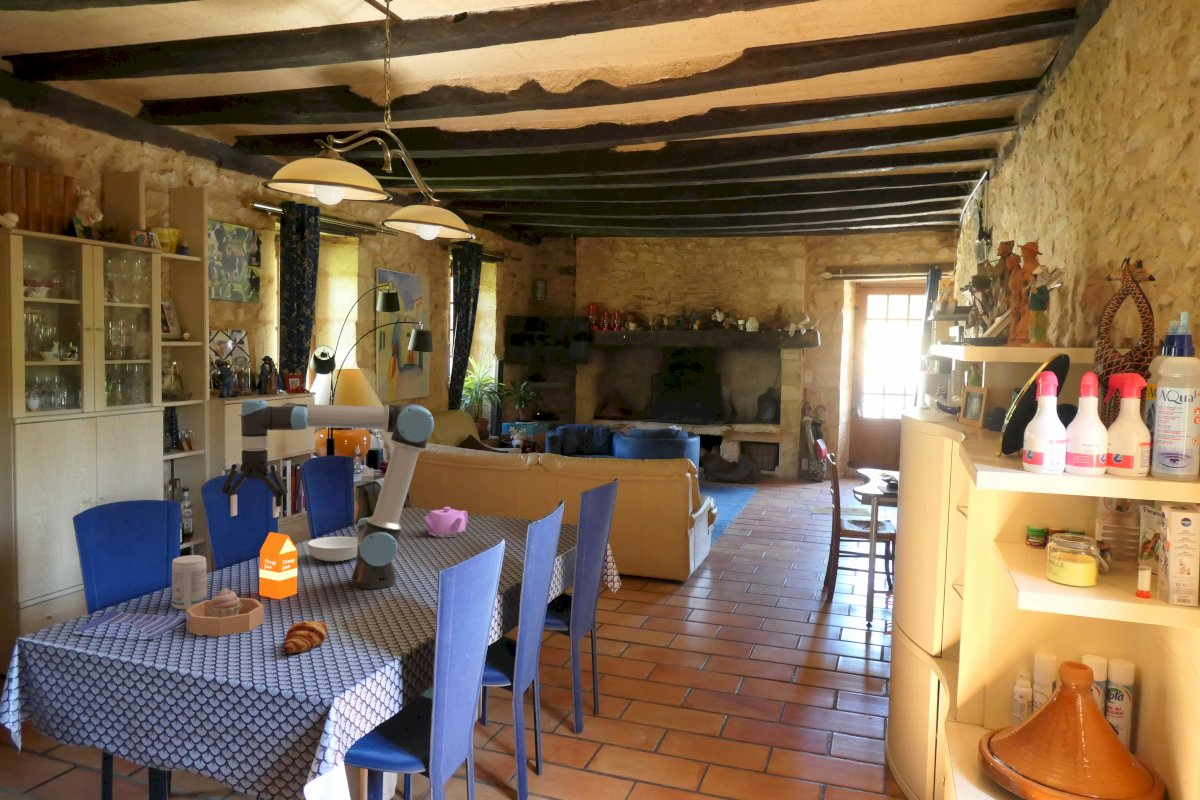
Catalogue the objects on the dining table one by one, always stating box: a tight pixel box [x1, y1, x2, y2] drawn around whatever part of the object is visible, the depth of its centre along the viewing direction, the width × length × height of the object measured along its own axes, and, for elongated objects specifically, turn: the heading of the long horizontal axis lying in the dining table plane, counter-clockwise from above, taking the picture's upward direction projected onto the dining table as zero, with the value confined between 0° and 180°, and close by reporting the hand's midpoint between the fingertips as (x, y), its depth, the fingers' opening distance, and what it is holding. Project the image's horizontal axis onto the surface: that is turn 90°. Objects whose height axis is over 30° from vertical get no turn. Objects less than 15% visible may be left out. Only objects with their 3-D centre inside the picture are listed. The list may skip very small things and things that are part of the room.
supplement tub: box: [171, 554, 208, 610], centre depth 251 cm, size 10×10×15 cm
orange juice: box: [259, 531, 298, 600], centre depth 266 cm, size 8×9×20 cm
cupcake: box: [207, 587, 243, 618], centre depth 235 cm, size 9×9×10 cm
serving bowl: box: [307, 536, 357, 563], centre depth 313 cm, size 21×21×7 cm
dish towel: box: [74, 609, 186, 638], centre depth 230 cm, size 17×24×3 cm
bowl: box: [185, 597, 265, 637], centre depth 235 cm, size 19×19×5 cm
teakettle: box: [423, 506, 469, 535], centre depth 362 cm, size 17×17×12 cm
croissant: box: [282, 620, 328, 654], centre depth 223 cm, size 21×10×8 cm, turn 173°
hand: (254, 516), depth 256 cm, fingers open, 13 cm apart
